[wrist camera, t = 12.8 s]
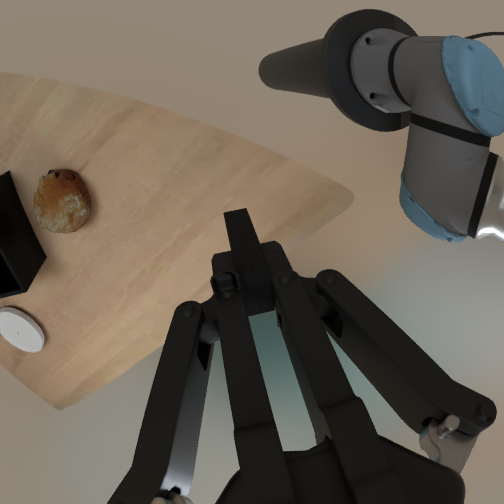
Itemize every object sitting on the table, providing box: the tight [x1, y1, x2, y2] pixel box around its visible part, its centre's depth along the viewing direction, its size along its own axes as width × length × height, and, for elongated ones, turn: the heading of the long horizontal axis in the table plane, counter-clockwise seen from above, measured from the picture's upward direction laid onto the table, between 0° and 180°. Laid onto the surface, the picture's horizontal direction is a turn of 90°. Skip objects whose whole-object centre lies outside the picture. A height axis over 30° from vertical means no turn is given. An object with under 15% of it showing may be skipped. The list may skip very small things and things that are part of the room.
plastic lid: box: [0, 307, 44, 352], centre depth 49 cm, size 14×14×2 cm
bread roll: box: [34, 169, 91, 233], centre depth 36 cm, size 10×10×8 cm
